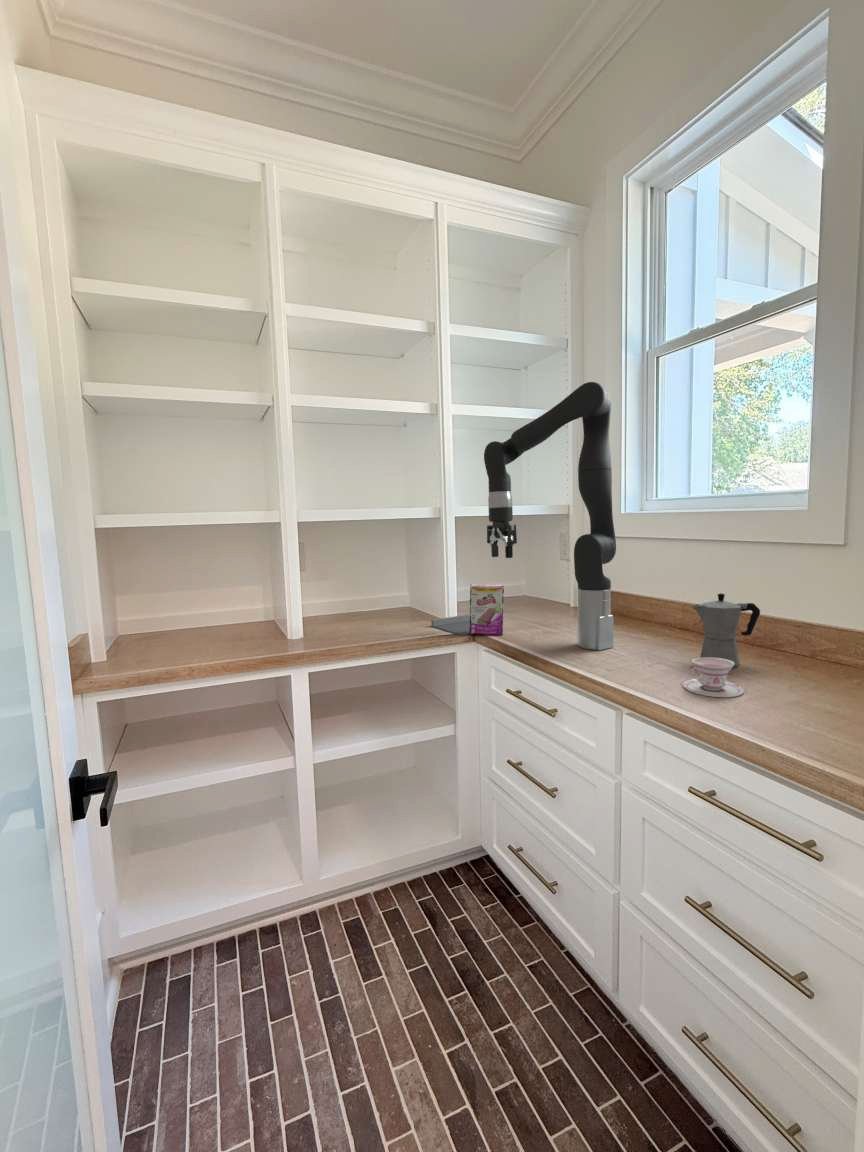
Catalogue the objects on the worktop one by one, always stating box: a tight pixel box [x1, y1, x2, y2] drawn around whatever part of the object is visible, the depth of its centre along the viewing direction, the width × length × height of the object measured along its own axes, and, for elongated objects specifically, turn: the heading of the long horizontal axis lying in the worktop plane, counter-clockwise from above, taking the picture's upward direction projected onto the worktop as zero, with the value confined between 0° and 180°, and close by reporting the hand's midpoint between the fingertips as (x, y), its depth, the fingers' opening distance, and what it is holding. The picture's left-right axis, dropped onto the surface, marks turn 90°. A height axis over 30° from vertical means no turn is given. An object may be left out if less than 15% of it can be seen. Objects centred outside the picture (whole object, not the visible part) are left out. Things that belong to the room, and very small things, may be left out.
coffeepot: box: [691, 593, 761, 668], centre depth 134 cm, size 15×9×18 cm, turn 74°
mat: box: [430, 614, 471, 637], centre depth 188 cm, size 20×16×2 cm
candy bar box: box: [469, 583, 505, 636], centre depth 176 cm, size 11×5×16 cm, turn 84°
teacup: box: [682, 657, 745, 698], centre depth 116 cm, size 12×12×6 cm
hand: (501, 557), depth 169 cm, fingers open, 8 cm apart
